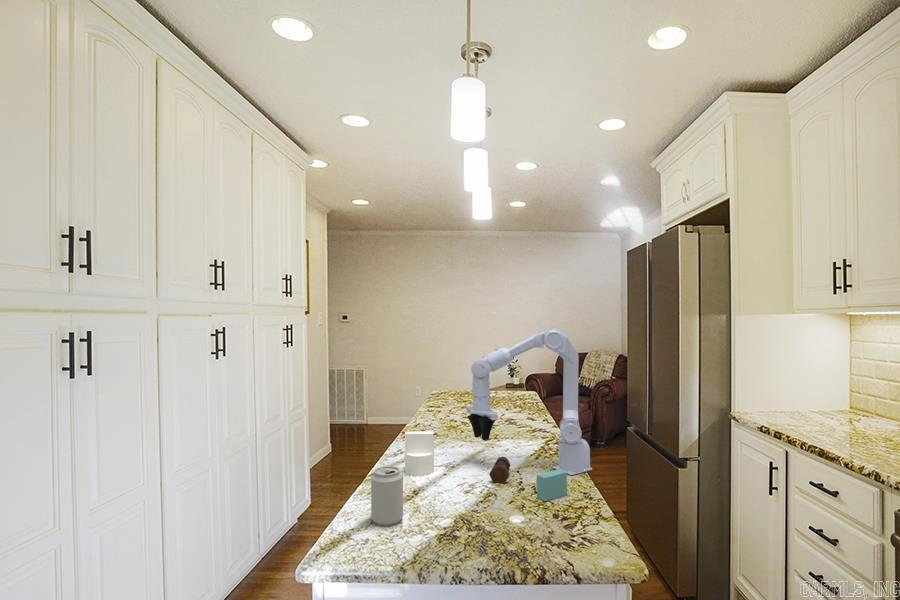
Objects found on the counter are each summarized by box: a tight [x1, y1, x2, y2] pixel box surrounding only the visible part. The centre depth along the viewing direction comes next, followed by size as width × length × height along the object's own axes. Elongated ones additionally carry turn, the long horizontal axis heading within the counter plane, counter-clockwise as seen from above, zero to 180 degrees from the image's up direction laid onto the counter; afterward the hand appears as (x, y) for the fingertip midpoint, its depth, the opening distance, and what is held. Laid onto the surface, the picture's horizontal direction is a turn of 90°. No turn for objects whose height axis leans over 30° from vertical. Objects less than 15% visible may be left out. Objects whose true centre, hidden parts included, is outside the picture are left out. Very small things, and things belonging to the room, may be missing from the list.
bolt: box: [488, 456, 511, 485], centre depth 141 cm, size 6×5×15 cm
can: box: [370, 465, 404, 527], centre depth 111 cm, size 8×8×12 cm
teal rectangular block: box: [535, 469, 568, 502], centre depth 126 cm, size 8×6×6 cm
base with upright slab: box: [404, 430, 435, 477], centre depth 145 cm, size 9×9×12 cm
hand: (481, 438), depth 151 cm, fingers open, 4 cm apart
